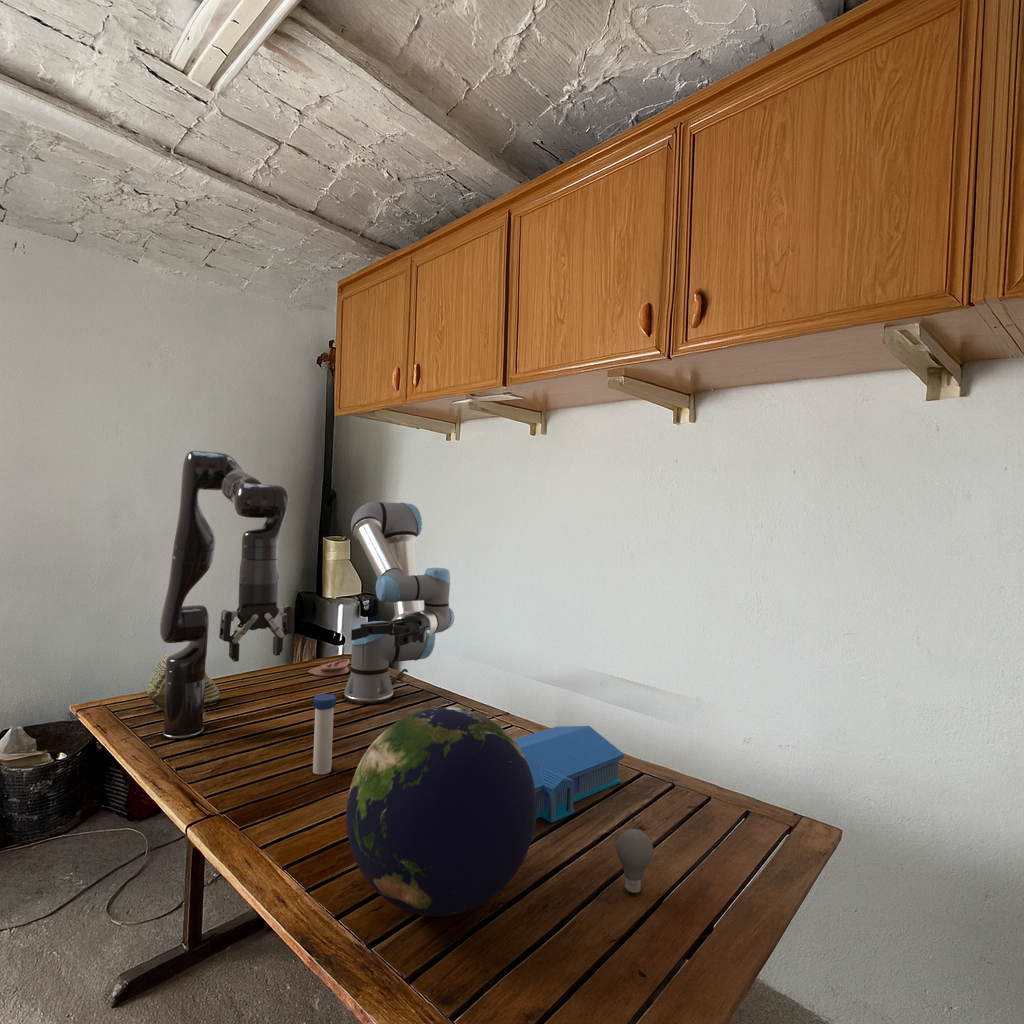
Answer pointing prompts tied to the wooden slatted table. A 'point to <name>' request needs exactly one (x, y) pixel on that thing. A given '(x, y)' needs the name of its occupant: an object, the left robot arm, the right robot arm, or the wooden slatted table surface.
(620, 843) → the light bulb
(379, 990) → the wooden slatted table surface
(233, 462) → the left robot arm
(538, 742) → the model building
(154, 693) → the fossil
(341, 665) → the anatomical model
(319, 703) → the lid
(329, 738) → the white tube
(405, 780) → the globe
